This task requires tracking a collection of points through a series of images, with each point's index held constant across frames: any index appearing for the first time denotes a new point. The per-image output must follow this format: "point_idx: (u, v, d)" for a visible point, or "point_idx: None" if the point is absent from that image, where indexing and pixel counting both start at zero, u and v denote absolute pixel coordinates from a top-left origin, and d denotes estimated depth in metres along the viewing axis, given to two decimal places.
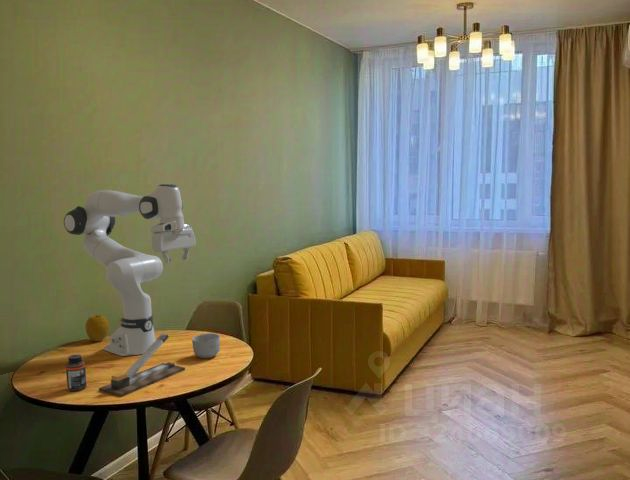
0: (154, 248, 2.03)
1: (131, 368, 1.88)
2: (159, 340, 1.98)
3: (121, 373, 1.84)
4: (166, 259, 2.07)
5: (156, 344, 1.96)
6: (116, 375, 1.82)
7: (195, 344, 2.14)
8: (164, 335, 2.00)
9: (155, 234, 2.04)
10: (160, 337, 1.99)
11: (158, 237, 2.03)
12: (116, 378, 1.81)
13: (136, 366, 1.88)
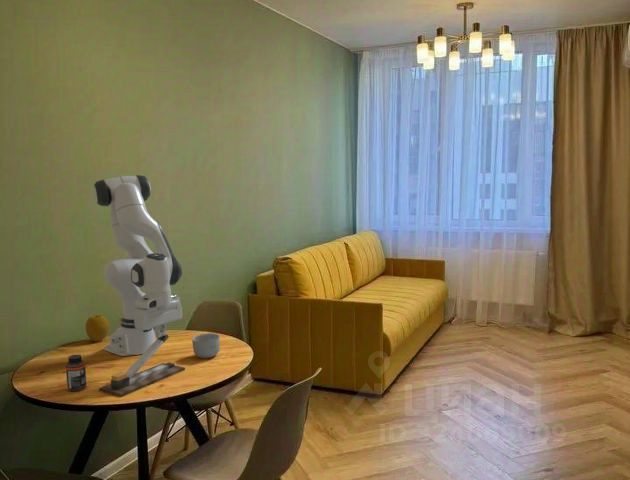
0: (136, 326, 1.90)
1: (131, 368, 1.88)
2: (159, 340, 1.98)
3: (121, 373, 1.84)
4: (157, 333, 1.97)
5: (156, 344, 1.96)
6: (116, 375, 1.82)
7: (195, 344, 2.14)
8: None
9: (138, 310, 1.90)
10: (160, 337, 1.99)
11: (141, 315, 1.89)
12: (116, 378, 1.81)
13: (136, 366, 1.88)
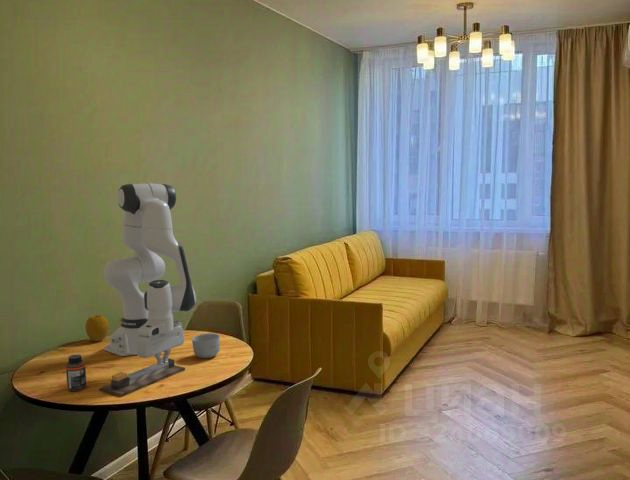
0: (139, 353, 1.91)
1: (133, 373, 1.89)
2: None
3: (121, 373, 1.84)
4: (158, 360, 1.98)
5: None
6: (116, 375, 1.82)
7: (195, 344, 2.14)
8: (171, 359, 2.03)
9: (141, 338, 1.91)
10: None
11: (144, 343, 1.90)
12: (116, 378, 1.81)
13: (138, 372, 1.89)
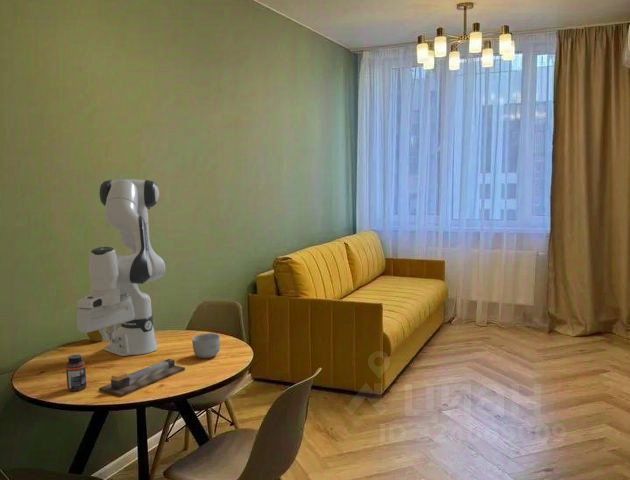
0: (79, 328, 1.69)
1: (133, 373, 1.89)
2: (165, 362, 2.01)
3: (121, 373, 1.84)
4: (104, 336, 1.76)
5: (162, 363, 1.99)
6: (116, 375, 1.82)
7: (195, 344, 2.14)
8: (171, 360, 2.03)
9: (81, 311, 1.69)
10: (166, 360, 2.02)
11: (84, 316, 1.68)
12: (116, 378, 1.81)
13: (139, 373, 1.89)
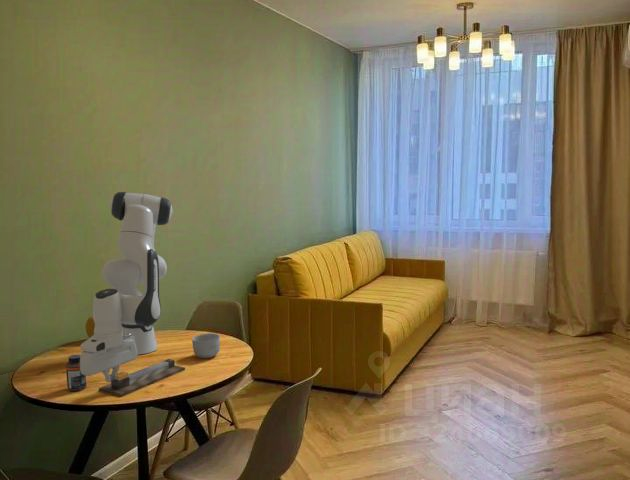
0: (82, 371, 1.72)
1: (133, 373, 1.89)
2: (165, 362, 2.01)
3: (122, 373, 1.84)
4: (107, 377, 1.79)
5: (162, 363, 1.99)
6: (117, 375, 1.82)
7: (195, 344, 2.14)
8: (171, 360, 2.03)
9: (85, 354, 1.72)
10: (166, 360, 2.02)
11: (87, 359, 1.71)
12: (117, 378, 1.81)
13: (139, 373, 1.89)
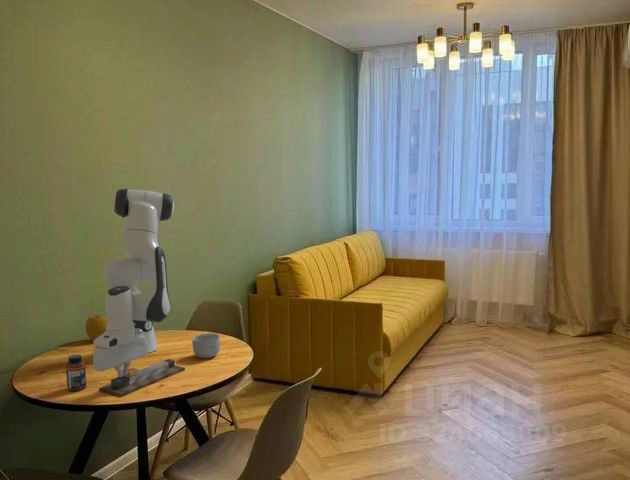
0: (95, 366, 1.76)
1: None
2: (165, 362, 2.01)
3: (133, 369, 1.88)
4: (119, 373, 1.83)
5: (162, 363, 1.99)
6: (128, 370, 1.86)
7: (195, 344, 2.14)
8: (171, 360, 2.03)
9: (98, 350, 1.76)
10: (166, 360, 2.02)
11: (100, 355, 1.75)
12: (128, 373, 1.85)
13: (139, 373, 1.89)
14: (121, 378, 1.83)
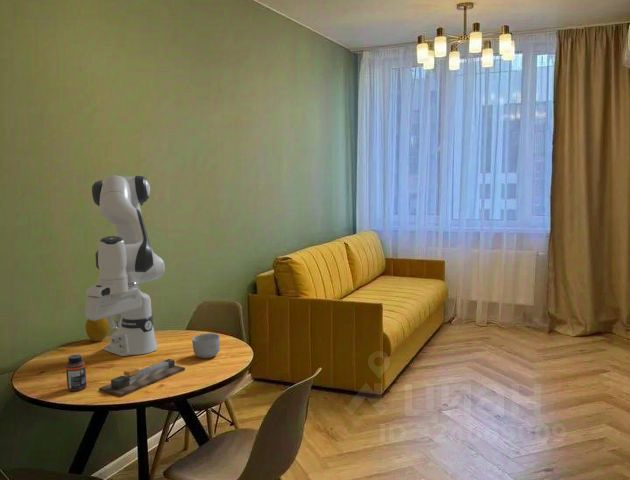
0: (87, 315, 1.73)
1: None
2: (165, 362, 2.01)
3: (133, 369, 1.88)
4: (111, 324, 1.80)
5: (162, 363, 1.99)
6: (128, 370, 1.86)
7: (195, 344, 2.14)
8: (171, 360, 2.03)
9: (90, 299, 1.73)
10: (166, 360, 2.02)
11: (92, 304, 1.72)
12: (128, 373, 1.85)
13: (139, 373, 1.89)
14: (121, 378, 1.83)
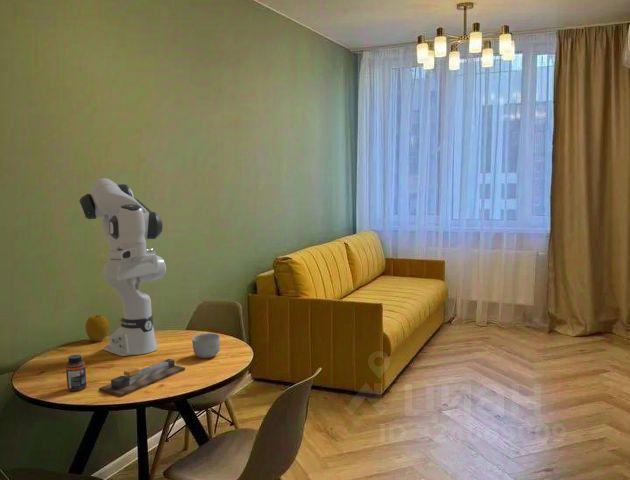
0: (109, 276, 1.85)
1: None
2: (165, 362, 2.01)
3: (133, 369, 1.88)
4: (131, 286, 1.92)
5: (162, 363, 1.99)
6: (128, 370, 1.86)
7: (195, 344, 2.14)
8: (171, 360, 2.03)
9: (112, 261, 1.85)
10: (166, 360, 2.02)
11: (114, 265, 1.84)
12: (128, 373, 1.85)
13: (139, 373, 1.89)
14: (121, 378, 1.83)
